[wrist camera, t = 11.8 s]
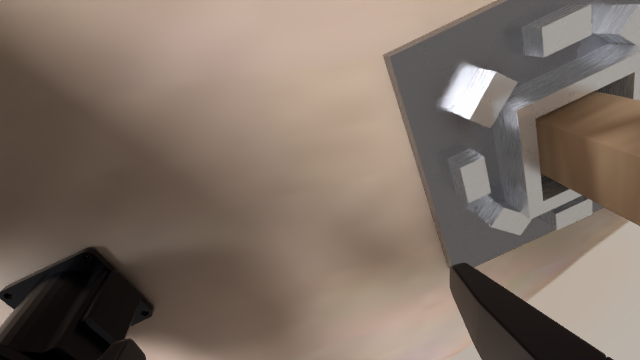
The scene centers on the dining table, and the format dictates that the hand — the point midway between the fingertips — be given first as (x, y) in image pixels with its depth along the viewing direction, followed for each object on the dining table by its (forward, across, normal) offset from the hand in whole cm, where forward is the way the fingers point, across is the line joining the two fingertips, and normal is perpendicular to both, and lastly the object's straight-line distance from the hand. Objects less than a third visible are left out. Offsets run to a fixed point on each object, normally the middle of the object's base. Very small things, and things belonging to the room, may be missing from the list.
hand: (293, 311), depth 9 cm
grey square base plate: (+14, -17, +4) cm, 22 cm away
